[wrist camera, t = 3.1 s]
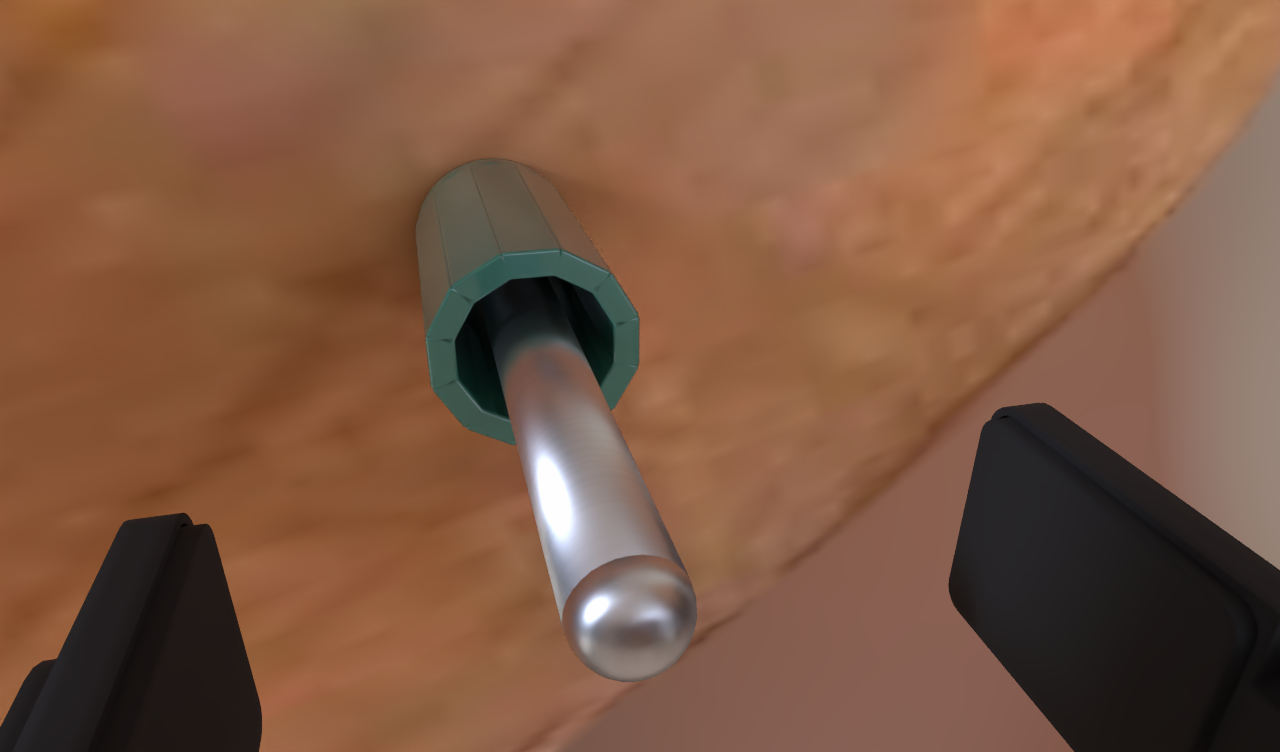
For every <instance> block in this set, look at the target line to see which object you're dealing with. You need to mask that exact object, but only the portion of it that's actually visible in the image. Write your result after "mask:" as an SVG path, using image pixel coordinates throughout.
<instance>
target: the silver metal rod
mask: <svg viewBox="0 0 1280 752" xmlns="http://www.w3.org/2000/svg"><path fill="white" fill-rule="evenodd" d="M480 302H481V306H482V310H483V314H484V318H485V322H486V326H487V330H488V334H489V338H490V342H491V346H492V350H493V354H494V358H495V362H496V366H497V370H498V374H499V378H500V382H501V386H502V390H503V393H504V397H505V401H506V405H507V409H508V413H509V417H510V421H511V425H512V429H513V433H514V437H515V441H516V445H517V449H518V453H519V457H520V461H521V465H522V469H523V473H524V477H525V481H526V485H527V489H528V493H529V497H530V501H531V505H532V509H533V512H534V516H535V520H536V524H537V528H538V532H539V536H540V540H541V544H542V548H543V552H544V556H545V560H546V564H547V568H548V572H549V576H550V580H551V584H552V588H553V592H554V596H555V600H556V604H557V608H558V612H559V616H560V620H561V624H562V628H563V631H564V634H565V636H566V639H567V641H568V643H569V645H570V647H571V650H572V651H573V652H574V653H575V655H576V656H577V657H578V658H579V659H580V661H581V662H582V663H583V664H584V665H585V666H587V667H588V668H590V669H591V670H593V671H594V672H595V673H597V674H598V675H601V676H603V677H605V678H608V679H612V680H617V681H622V682H635V681H642V680H646V679H649V678H652V677H654V676H657V675H659V674H661V673H662V672H664V671H666V670H667V669H669V668H670V667H671V666H672V665H674V664H675V663H676V662H677V661H678V659H679V658H680V657H681V656H682V654H683V653H684V651H685V650H686V648H687V647H688V645H689V644H690V641H691V639H692V636H693V633H694V629H695V625H696V619H697V605H696V596H695V593H694V590H693V586H692V583H691V581H690V578H689V576H688V574H687V572H686V570H685V568H684V566H683V563H682V561H681V559H680V557H679V555H678V553H677V551H676V548H675V546H674V544H673V542H672V540H671V538H670V536H669V534H668V531H667V529H666V527H665V525H664V523H663V521H662V519H661V517H660V514H659V512H658V510H657V508H656V506H655V504H654V502H653V500H652V497H651V495H650V493H649V491H648V489H647V487H646V485H645V482H644V480H643V478H642V476H641V474H640V472H639V470H638V468H637V465H636V463H635V461H634V459H633V457H632V455H631V453H630V451H629V448H628V446H627V444H626V442H625V440H624V438H623V436H622V433H621V431H620V429H619V427H618V425H617V423H616V421H615V419H614V416H613V414H612V412H611V410H610V408H609V406H608V404H607V402H606V399H605V397H604V395H603V393H602V391H601V389H600V387H599V385H598V382H597V380H596V378H595V376H594V374H593V372H592V370H591V367H590V365H589V363H588V361H587V359H586V357H585V355H584V353H583V350H582V348H581V346H580V344H579V342H578V340H577V338H576V336H575V333H574V331H573V329H572V327H571V325H570V323H569V321H568V318H567V316H566V314H565V312H564V310H563V308H562V306H561V304H560V301H559V299H558V297H557V295H556V293H555V291H554V289H553V287H552V284H551V282H550V280H549V278H548V277H536V278H524V279H512V280H509V281H508V282H506V283H505V284H503V285H502V286H500V287H499V288H497V289H496V290H494V291H492V292H491V293H489V294H488V295H486V296H485V297H483V298H482V299H480Z"/></svg>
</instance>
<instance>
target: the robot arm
mask: <svg viewBox="0 0 1280 752" xmlns="http://www.w3.org/2000/svg"><path fill="white" fill-rule="evenodd" d="M949 593H950V596H951V600H952V602H953V604H954V606H955V607H956V609H957V611H958V612H959V613H960V614H961V615H962V616H963V618H964V619H965V620H966V621H967V623H968V624H969V625H970V626H971V627H972V629H973V630H974V631H975V632H976V633H977V635H978V636H979V637H980V638H981V639H982V641H983V642H984V643H985V644H986V645H987V647H988V648H989V649H990V650H991V652H992V653H993V654H994V655H995V656H996V657H997V659H998V660H999V661H1000V662H1001V664H1002V665H1003V666H1004V667H1005V668H1006V670H1007V671H1008V672H1009V673H1010V674H1011V676H1012V677H1013V678H1014V679H1015V681H1016V682H1017V683H1018V684H1019V685H1020V687H1021V688H1022V689H1023V690H1024V691H1025V693H1026V694H1027V695H1028V696H1029V697H1030V699H1031V700H1032V701H1033V702H1034V703H1035V705H1036V706H1037V707H1038V708H1039V709H1040V711H1041V712H1042V713H1043V714H1044V715H1045V716H1046V718H1047V719H1048V720H1049V721H1050V723H1051V724H1052V725H1053V726H1054V728H1055V729H1056V730H1057V731H1058V732H1059V734H1060V735H1061V736H1062V737H1063V738H1064V740H1065V741H1066V742H1067V743H1068V744H1069V746H1070V747H1071V748H1072V749H1073V750H1074V752H1280V570H1279V569H1277V568H1276V567H1275V566H1273V565H1272V564H1270V563H1269V562H1268V561H1266V560H1265V559H1263V558H1262V557H1261V556H1259V555H1258V554H1256V553H1255V552H1254V551H1252V550H1251V549H1249V548H1248V547H1246V546H1245V545H1244V544H1242V543H1241V542H1240V541H1238V540H1237V539H1235V538H1234V537H1233V536H1231V535H1230V534H1228V533H1227V532H1226V531H1224V530H1223V529H1222V528H1220V527H1219V526H1217V525H1216V524H1215V523H1213V522H1212V521H1210V520H1209V519H1208V518H1206V517H1205V516H1203V515H1202V514H1201V513H1199V512H1198V511H1196V510H1195V509H1194V508H1192V507H1191V506H1190V505H1188V504H1186V503H1185V502H1184V501H1183V500H1181V499H1180V498H1178V497H1177V496H1176V495H1174V494H1173V493H1171V492H1170V491H1169V490H1167V489H1166V488H1164V487H1163V486H1162V485H1160V484H1159V483H1157V482H1156V481H1155V480H1153V479H1152V478H1150V477H1149V476H1148V475H1146V474H1145V473H1144V472H1142V471H1141V470H1139V469H1138V468H1136V467H1135V466H1134V465H1132V464H1131V463H1130V462H1128V461H1127V460H1125V459H1124V458H1123V457H1121V456H1120V455H1118V454H1117V453H1116V452H1114V451H1113V450H1111V449H1110V448H1109V447H1107V446H1106V445H1104V444H1103V443H1102V442H1100V441H1099V440H1097V439H1096V438H1095V437H1093V436H1092V435H1091V434H1089V433H1088V432H1086V431H1085V430H1084V429H1082V428H1081V427H1079V426H1078V425H1077V424H1075V423H1074V422H1072V421H1071V420H1070V419H1068V418H1067V417H1066V416H1064V415H1063V414H1061V413H1060V412H1058V411H1057V410H1055V409H1054V408H1053V407H1052V406H1050V405H1047V404H1045V403H1033V404H1026V405H1018V406H1010V407H1003V408H1001V409H999V410H997V411H996V412H995V413H994V415H993V416H992V419H991V420H990V421H988V422H986V423H985V425H984V426H983V428H982V431H981V435H980V440H979V444H978V449H977V453H976V458H975V462H974V467H973V472H972V476H971V482H970V485H969V490H968V495H967V500H966V504H965V508H964V513H963V518H962V522H961V527H960V531H959V536H958V541H957V545H956V550H955V555H954V559H953V564H952V568H951V573H950V577H949ZM261 734H262V713H261V706H260V701H259V697H258V694H257V690H256V686H255V683H254V679H253V675H252V672H251V668H250V664H249V661H248V657H247V654H246V650H245V646H244V643H243V639H242V635H241V632H240V628H239V624H238V621H237V617H236V614H235V610H234V606H233V603H232V599H231V595H230V592H229V588H228V584H227V581H226V577H225V574H224V570H223V566H222V563H221V559H220V555H219V552H218V548H217V544H216V541H215V537H214V534H213V531H212V529H211V527H210V526H209V525H208V524H200V525H193V523H192V520H191V519H190V517H189V516H188V515H187V514H185V513H179V514H171V515H164V516H156V517H148V518H140V519H133V520H127V521H125V522H124V523H123V524H122V525H121V527H120V528H119V531H118V533H117V535H116V537H115V539H114V541H113V543H112V545H111V547H110V549H109V551H108V553H107V556H106V558H105V560H104V562H103V564H102V566H101V568H100V570H99V572H98V574H97V576H96V578H95V581H94V583H93V585H92V587H91V589H90V591H89V593H88V595H87V597H86V599H85V601H84V603H83V606H82V608H81V610H80V612H79V614H78V616H77V618H76V620H75V622H74V624H73V626H72V628H71V631H70V633H69V635H68V637H67V639H66V641H65V643H64V645H63V647H62V649H61V651H60V653H59V656H58V658H57V659H54V660H47V661H42V662H41V663H39V664H38V665H36V666H35V667H33V669H32V670H31V672H30V673H29V674H28V676H27V677H26V679H25V680H24V682H23V684H22V686H21V688H20V690H19V692H18V694H17V696H16V698H15V700H14V702H13V704H12V706H11V708H10V710H9V711H8V713H7V715H6V717H5V719H4V721H3V723H2V725H1V727H0V752H259V747H260V742H261Z"/></svg>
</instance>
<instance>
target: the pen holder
mask: <svg viewBox="0 0 1280 752" xmlns="http://www.w3.org/2000/svg"><path fill="white" fill-rule="evenodd" d="M415 234H416V245H417V255H418V266H419V277H420V288H421V299H422V310H423V321H424V332H425V342H426V351H427V359H428V367H429V376H430V384H431V387H432V388H433V392H434V393H435V394H436V395H437V396H438V397H439V399H440V400H441V401H442V402H443V403H444V404H445V406H446V407H447V408H448V409H449V410H450V411H451V413H452V414H453V415H454V416H455V417H456V419H457V420H458V421H459V422H460V423H461V424H462V426H464V427H466V428H467V429H468V430H471V431H474V432H477V433H479V434H482V435H485V436H488V437H491V438H494V439H497V440H499V441H502V442H505V443H508V444H511V445H515V444H516V441H515V437H514V433H513V429H512V425H511V421H510V417H509V413H508V409H507V405H506V401H505V397H504V393H503V390H502V386H501V382H500V378H499V374H498V370H497V366H496V362H495V358H494V354H493V350H492V346H491V342H490V338H489V334H488V330H487V326H486V322H485V318H484V314H483V310H482V306H481V302H480V299H482V298H483V297H485V296H486V295H488V294H489V293H491V292H492V291H494V290H496V289H497V288H499V287H500V286H502V285H503V284H505V283H506V282H508V281H509V280H512V279H524V278H536V277H548V278H549V280H550V282H551V284H552V287H553V289H554V291H555V293H556V295H557V297H558V299H559V301H560V304H561V306H562V308H563V310H564V312H565V314H566V316H567V318H568V321H569V323H570V325H571V327H572V329H573V331H574V333H575V336H576V338H577V340H578V342H579V344H580V346H581V348H582V350H583V353H584V355H585V357H586V359H587V361H588V363H589V365H590V367H591V370H592V372H593V374H594V376H595V378H596V380H597V382H598V385H599V387H600V389H601V391H602V393H603V395H604V397H605V399H606V402H607V404H608V406H609V408H610V410H611V411H612V409H614V408H615V406H616V404H617V403H618V401H619V399H620V398H621V396H622V394H623V392H624V391H625V389H626V387H627V386H628V384H629V382H630V381H631V379H632V377H633V376H634V374H635V372H636V370H637V369H638V365H639V316H638V312H637V311H636V309H635V307H634V306H633V304H632V303H631V301H630V300H629V298H628V296H627V295H626V293H625V292H624V290H623V289H622V287H621V285H620V284H619V282H618V281H617V279H616V278H615V276H614V274H613V273H612V271H611V270H610V268H609V267H608V265H607V264H606V262H605V261H604V259H603V258H602V256H601V255H600V253H599V252H598V250H597V249H596V247H595V246H594V244H593V243H592V241H591V240H590V238H589V237H588V235H587V234H586V232H585V231H584V229H583V228H582V226H581V225H580V223H579V222H578V220H577V219H576V217H575V216H574V214H573V213H572V211H571V210H570V208H569V207H568V205H567V204H566V202H565V201H564V199H563V198H562V196H561V195H560V193H559V192H558V190H557V189H556V187H555V186H554V184H552V183H551V182H550V181H549V180H547V179H546V178H545V177H544V176H542V175H541V174H540V173H539V172H537V171H535V170H534V169H532V168H530V167H528V166H526V165H523V164H521V163H518V162H514V161H511V160H504V159H484V160H477V161H473V162H469V163H467V164H464V165H462V166H459V167H457V168H456V169H454V170H452V171H450V172H449V173H448V174H446V175H445V176H444V177H442V178H441V179H440V180H439V181H438V182H437V183H436V184H435V185H434V186H433V188H432V189H431V190H430V192H429V193H428V195H427V196H426V198H425V200H424V202H423V204H422V207H421V209H420V212H419V216H418V220H417V224H416V229H415Z"/></svg>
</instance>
